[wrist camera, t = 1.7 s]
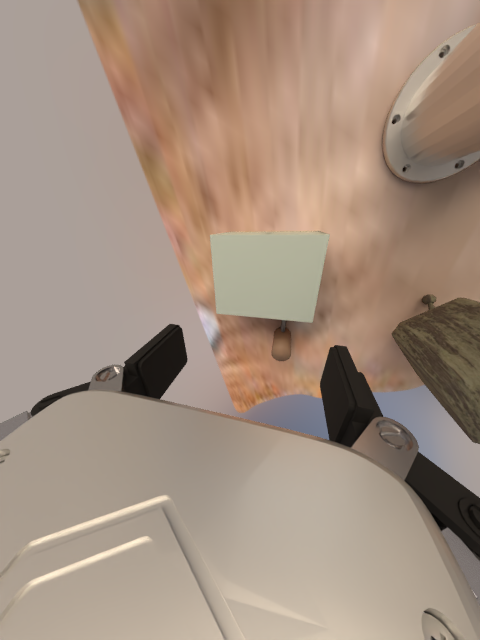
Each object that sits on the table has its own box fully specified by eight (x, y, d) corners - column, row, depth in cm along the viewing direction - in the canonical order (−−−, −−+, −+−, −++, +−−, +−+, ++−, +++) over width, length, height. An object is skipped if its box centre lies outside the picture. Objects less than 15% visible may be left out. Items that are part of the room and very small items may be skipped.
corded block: (304, 262, 33) (307, 271, 27) (293, 342, 41) (293, 362, 35) (276, 261, 34) (273, 269, 28) (270, 339, 42) (267, 359, 36)
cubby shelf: (319, 231, 30) (329, 234, 22) (307, 299, 35) (312, 322, 27) (229, 231, 33) (209, 235, 25) (232, 294, 39) (216, 313, 31)
